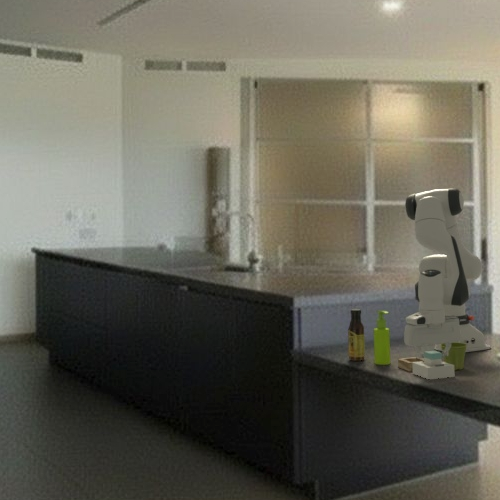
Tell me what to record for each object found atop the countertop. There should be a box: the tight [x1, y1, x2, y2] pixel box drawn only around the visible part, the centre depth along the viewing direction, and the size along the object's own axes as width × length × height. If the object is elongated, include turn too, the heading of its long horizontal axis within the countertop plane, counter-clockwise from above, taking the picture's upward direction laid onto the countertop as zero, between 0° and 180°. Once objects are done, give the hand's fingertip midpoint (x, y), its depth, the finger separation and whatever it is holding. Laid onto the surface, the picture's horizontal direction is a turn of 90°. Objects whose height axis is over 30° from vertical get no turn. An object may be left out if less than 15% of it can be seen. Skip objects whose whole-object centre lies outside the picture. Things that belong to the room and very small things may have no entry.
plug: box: [423, 350, 443, 366], centre depth 261 cm, size 4×5×8 cm
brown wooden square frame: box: [397, 356, 424, 372], centre depth 274 cm, size 9×10×3 cm
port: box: [412, 360, 456, 380], centre depth 261 cm, size 10×11×4 cm
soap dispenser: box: [373, 310, 391, 366], centre depth 285 cm, size 6×7×20 cm
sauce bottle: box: [347, 308, 366, 362], centre depth 294 cm, size 6×6×20 cm
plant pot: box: [440, 343, 467, 371], centre depth 271 cm, size 9×9×9 cm
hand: (433, 357), depth 261 cm, fingers open, 8 cm apart
